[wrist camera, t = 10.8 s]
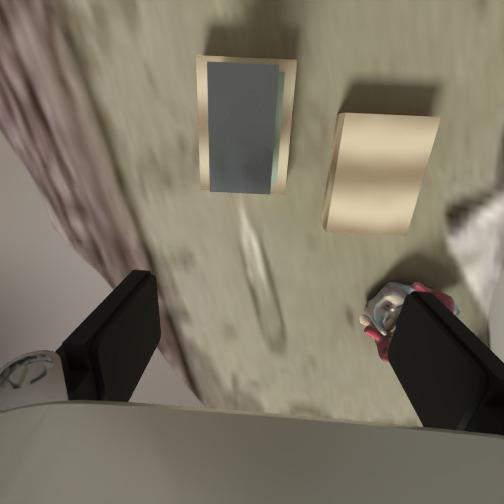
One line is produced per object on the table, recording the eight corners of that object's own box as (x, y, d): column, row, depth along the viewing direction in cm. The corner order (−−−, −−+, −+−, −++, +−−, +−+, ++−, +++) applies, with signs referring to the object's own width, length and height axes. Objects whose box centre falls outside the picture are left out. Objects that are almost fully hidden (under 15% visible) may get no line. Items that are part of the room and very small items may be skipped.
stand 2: (394, 226, 34) (406, 235, 31) (320, 223, 34) (326, 231, 31) (424, 117, 29) (441, 117, 26) (337, 113, 29) (345, 112, 26)
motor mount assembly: (398, 257, 33) (501, 342, 26) (421, 267, 41) (505, 334, 34) (335, 321, 37) (409, 409, 30) (367, 319, 45) (431, 388, 38)
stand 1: (282, 188, 32) (285, 194, 30) (205, 184, 33) (200, 190, 30) (293, 66, 27) (297, 59, 25) (202, 62, 28) (195, 54, 25)
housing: (268, 180, 29) (270, 194, 23) (220, 177, 29) (209, 191, 23) (274, 78, 25) (279, 64, 19) (219, 76, 25) (206, 61, 19)
